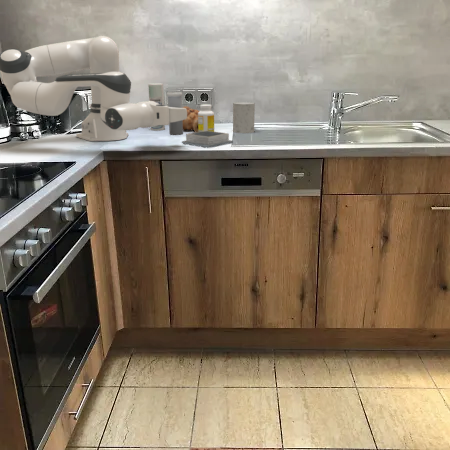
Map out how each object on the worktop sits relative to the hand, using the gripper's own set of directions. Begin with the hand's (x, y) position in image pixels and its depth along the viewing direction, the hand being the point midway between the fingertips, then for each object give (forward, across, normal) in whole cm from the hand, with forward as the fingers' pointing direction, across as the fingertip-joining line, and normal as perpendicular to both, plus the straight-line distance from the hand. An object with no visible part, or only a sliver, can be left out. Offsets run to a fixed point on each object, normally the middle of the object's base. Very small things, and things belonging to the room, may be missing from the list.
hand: (178, 110), depth 184 cm
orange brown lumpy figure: (+28, -20, -14) cm, 37 cm away
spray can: (+22, -37, -13) cm, 45 cm away
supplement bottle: (+22, -7, -14) cm, 27 cm away
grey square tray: (+11, +4, -13) cm, 18 cm away
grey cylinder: (+43, -4, -14) cm, 45 cm away
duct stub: (-1, 0, -9) cm, 9 cm away
